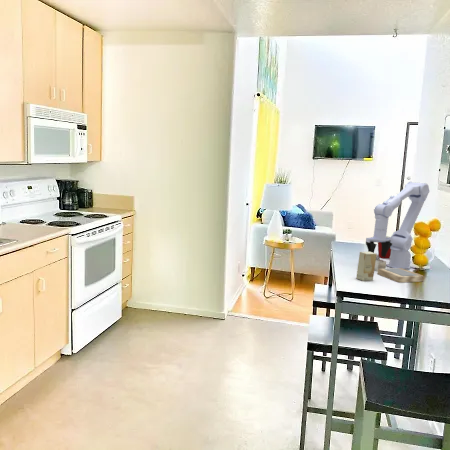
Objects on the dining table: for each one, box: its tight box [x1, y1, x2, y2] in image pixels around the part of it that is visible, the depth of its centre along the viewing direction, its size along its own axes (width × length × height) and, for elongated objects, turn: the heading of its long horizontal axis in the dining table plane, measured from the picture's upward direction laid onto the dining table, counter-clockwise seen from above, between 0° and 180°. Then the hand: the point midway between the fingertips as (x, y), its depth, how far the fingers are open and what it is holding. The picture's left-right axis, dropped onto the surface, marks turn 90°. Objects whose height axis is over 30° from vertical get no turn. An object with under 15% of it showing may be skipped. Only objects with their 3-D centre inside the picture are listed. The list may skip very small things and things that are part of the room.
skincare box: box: [355, 251, 377, 282], centre depth 197 cm, size 6×4×12 cm
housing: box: [374, 256, 387, 273], centre depth 219 cm, size 4×8×6 cm, turn 22°
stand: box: [376, 267, 425, 284], centre depth 206 cm, size 14×14×3 cm
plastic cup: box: [377, 235, 391, 260], centre depth 248 cm, size 11×11×12 cm
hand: (377, 256), depth 218 cm, fingers open, 7 cm apart
